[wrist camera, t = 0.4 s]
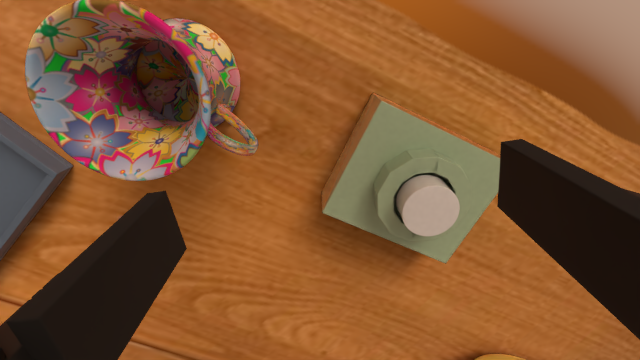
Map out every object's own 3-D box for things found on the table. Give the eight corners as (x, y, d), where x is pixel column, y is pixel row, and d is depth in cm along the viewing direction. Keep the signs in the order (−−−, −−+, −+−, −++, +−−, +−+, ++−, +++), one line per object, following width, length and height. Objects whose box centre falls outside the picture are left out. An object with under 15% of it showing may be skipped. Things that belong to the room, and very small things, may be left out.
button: (459, 187, 25) (471, 199, 23) (430, 229, 26) (439, 244, 25) (413, 165, 24) (421, 176, 23) (386, 210, 26) (391, 224, 24)
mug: (116, 99, 28) (7, 132, 18) (153, -13, 25) (46, -46, 15) (248, 166, 30) (215, 227, 20) (297, 72, 27) (286, 91, 17)
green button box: (492, 150, 30) (532, 176, 24) (431, 238, 33) (454, 278, 28) (372, 92, 28) (386, 105, 22) (321, 192, 31) (322, 225, 26)
